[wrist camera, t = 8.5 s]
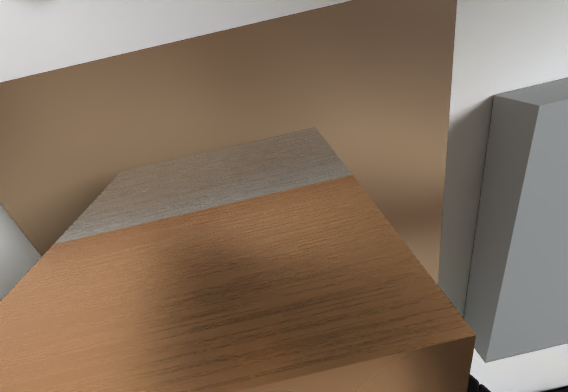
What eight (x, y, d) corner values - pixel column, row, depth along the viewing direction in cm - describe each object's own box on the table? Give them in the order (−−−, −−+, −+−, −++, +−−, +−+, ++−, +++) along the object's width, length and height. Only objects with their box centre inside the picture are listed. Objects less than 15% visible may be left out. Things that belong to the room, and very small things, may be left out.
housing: (315, 126, 8) (476, 335, 2) (348, 346, 12) (432, 595, 7) (121, 171, 8) (-172, 487, 2) (225, 375, 12) (208, 648, 7)
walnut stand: (414, 296, 16) (434, 328, 14) (160, 356, 16) (150, 395, 14) (418, -13, 9) (458, -25, 8) (-18, 89, 9) (-80, 101, 8)
